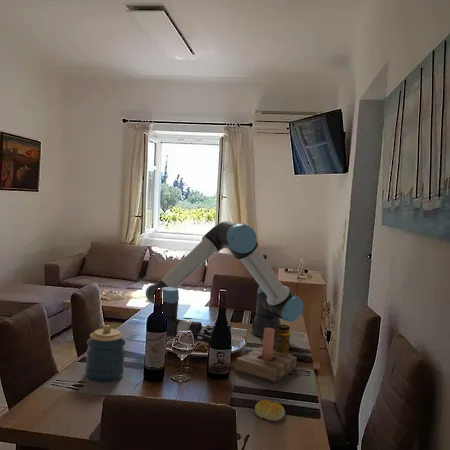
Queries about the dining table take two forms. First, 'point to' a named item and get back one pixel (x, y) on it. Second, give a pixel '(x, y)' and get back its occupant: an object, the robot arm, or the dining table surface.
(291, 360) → the socket block
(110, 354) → the canister
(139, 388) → the dining table surface
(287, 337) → the condiment
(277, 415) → the bread roll
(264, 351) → the peg
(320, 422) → the dining table surface
